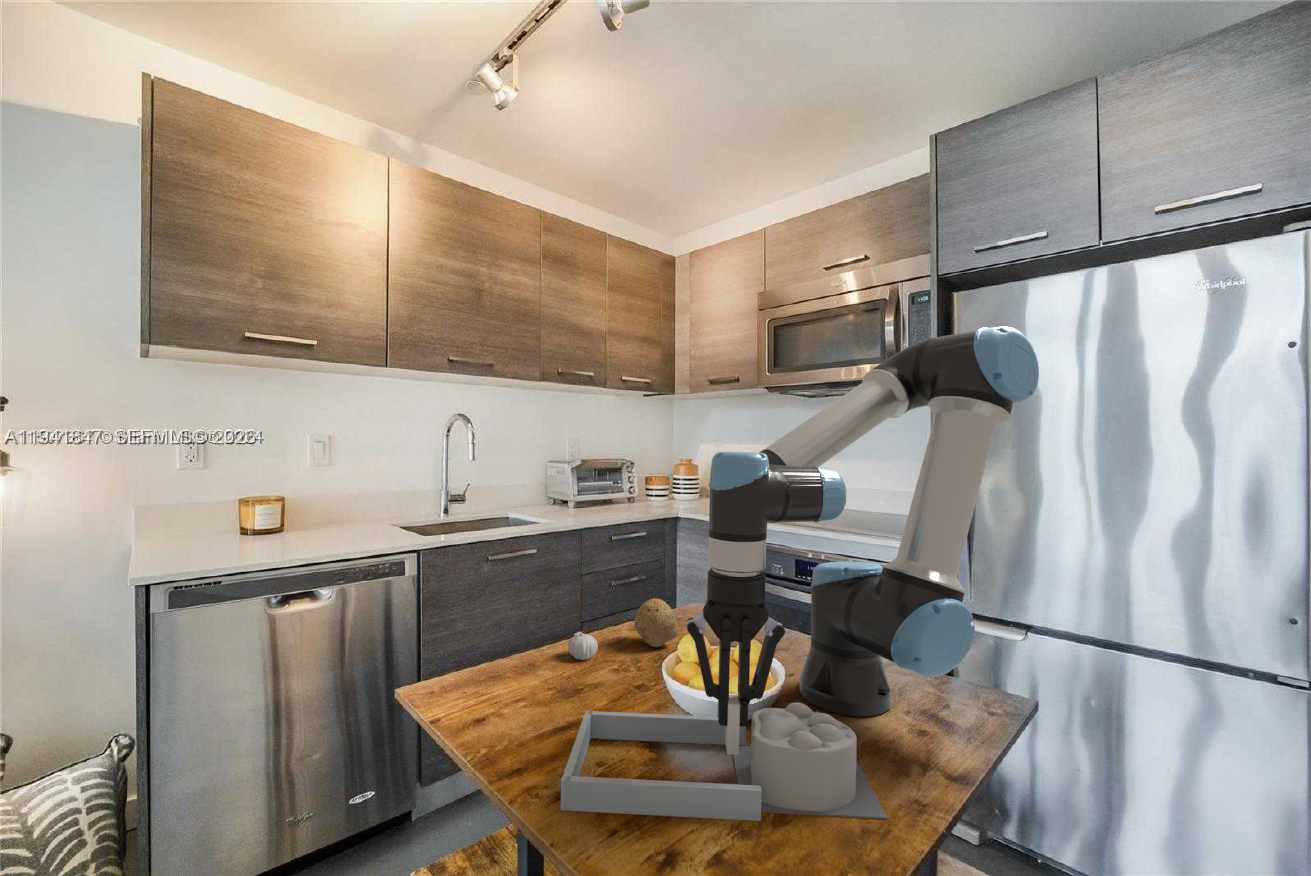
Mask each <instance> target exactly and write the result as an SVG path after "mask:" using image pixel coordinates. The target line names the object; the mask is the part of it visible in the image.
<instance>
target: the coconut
mask: <svg viewBox="0 0 1311 876" xmlns="http://www.w3.org/2000/svg"><path fill="white" fill-rule="evenodd" d="M678 623H679V622H678V621H677V619H676V616H675V614H674V611H673V609H672V607H671V606H670V604H668V603H667V602H666V601H664V600H663V599H660V598H657V597H656V598H650V599H648V600H646V601H644V602H643V604H641V605H640V607H639V608H638V609H637V611H636V614H635V618H634V627H635V629H636V631H637V633H638V634H639V636H640V637H641V638H642V639H643V641H644V642H645V643H646V644H647V645H648V646H650V647H652V648H660V647H662V646H664V645H665V643H667V642H670V641H672V640H674V639H675V638H676V637H677V636H678V634H679V624H678Z"/></svg>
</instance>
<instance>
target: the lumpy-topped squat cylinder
mask: <svg viewBox="0 0 1311 876" xmlns="http://www.w3.org/2000/svg"><path fill="white" fill-rule="evenodd" d="M751 715H752V716H751V727H750V728H751V731H750V733H751V734H750V746H751V773H752V785H757V786H761V791H762V792H761V801H762V802H764V803H767V804H769V805H773V806H777V807H783V808H789V809H795V810H804V811H829V810H833V809H836V808H839V807H842V806H845V805H847V804H848V803H849V802H851V801H852V800H853V798H854V797H855V794H856V760H857V734H856V733H855V731H854V730H853V729H852V728H851V727H849V726H848V725H846V723H843V722H842V721H840V720H838V719H836V718H834V717H833V716H832V715H830V714H827V713H825V712H819V711H813V710H812V709H811V708H810V707H809V706H808V705H806V704H804V703H803V702H792V703H789V704H788V705H787V706H786V707H785V708H779V707H777V708H776V707H765V708H760V709H758V710H755V711H753V713H752V714H751Z"/></svg>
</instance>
